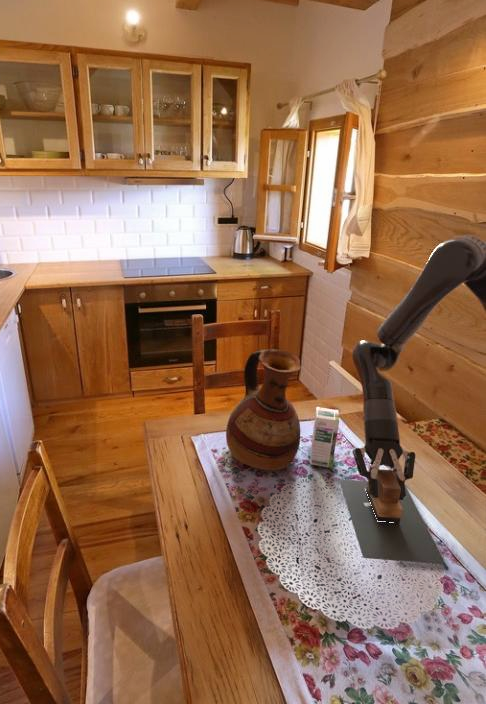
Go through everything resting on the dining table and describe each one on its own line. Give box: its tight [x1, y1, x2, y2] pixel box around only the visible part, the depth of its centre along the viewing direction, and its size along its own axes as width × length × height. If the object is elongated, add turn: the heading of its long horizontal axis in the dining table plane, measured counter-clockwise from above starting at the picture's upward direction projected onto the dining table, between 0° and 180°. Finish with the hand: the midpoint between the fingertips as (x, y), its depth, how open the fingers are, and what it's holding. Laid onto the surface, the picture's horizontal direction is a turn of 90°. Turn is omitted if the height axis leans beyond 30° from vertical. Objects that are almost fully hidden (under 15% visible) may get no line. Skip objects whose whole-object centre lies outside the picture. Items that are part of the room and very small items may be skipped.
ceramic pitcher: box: [225, 348, 302, 471], centre depth 105 cm, size 20×20×30 cm
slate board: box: [338, 478, 446, 565], centre depth 90 cm, size 16×22×1 cm
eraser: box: [366, 468, 403, 523], centre depth 91 cm, size 5×9×8 cm, turn 176°
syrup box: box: [309, 406, 340, 469], centre depth 106 cm, size 6×6×14 cm
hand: (388, 498), depth 89 cm, fingers closed on eraser, 4 cm apart
